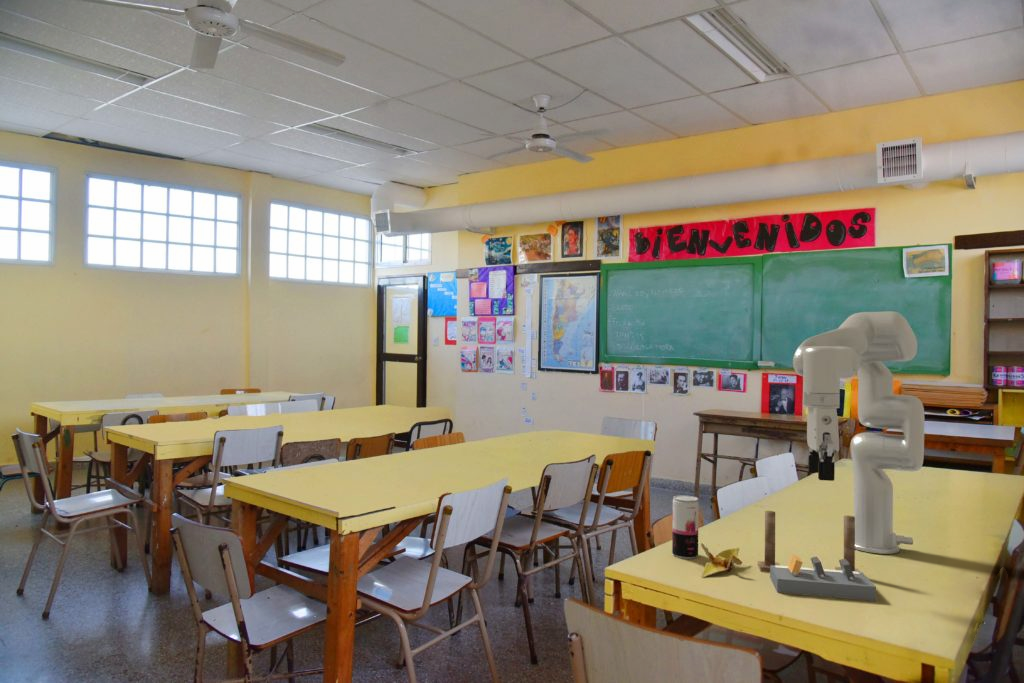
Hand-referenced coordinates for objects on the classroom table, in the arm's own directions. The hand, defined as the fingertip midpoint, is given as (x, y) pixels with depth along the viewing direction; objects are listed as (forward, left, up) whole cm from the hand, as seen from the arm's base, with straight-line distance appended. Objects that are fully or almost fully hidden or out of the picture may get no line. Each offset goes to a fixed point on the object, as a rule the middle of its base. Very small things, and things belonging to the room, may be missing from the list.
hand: (821, 476), depth 151 cm
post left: (+9, -11, -25) cm, 29 cm away
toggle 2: (0, +1, -22) cm, 22 cm away
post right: (-9, -11, -25) cm, 29 cm away
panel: (0, +1, -25) cm, 25 cm away
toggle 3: (-6, +1, -22) cm, 23 cm away
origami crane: (+21, -7, -26) cm, 34 cm away
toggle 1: (+6, +1, -22) cm, 23 cm away
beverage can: (+29, -17, -26) cm, 42 cm away
